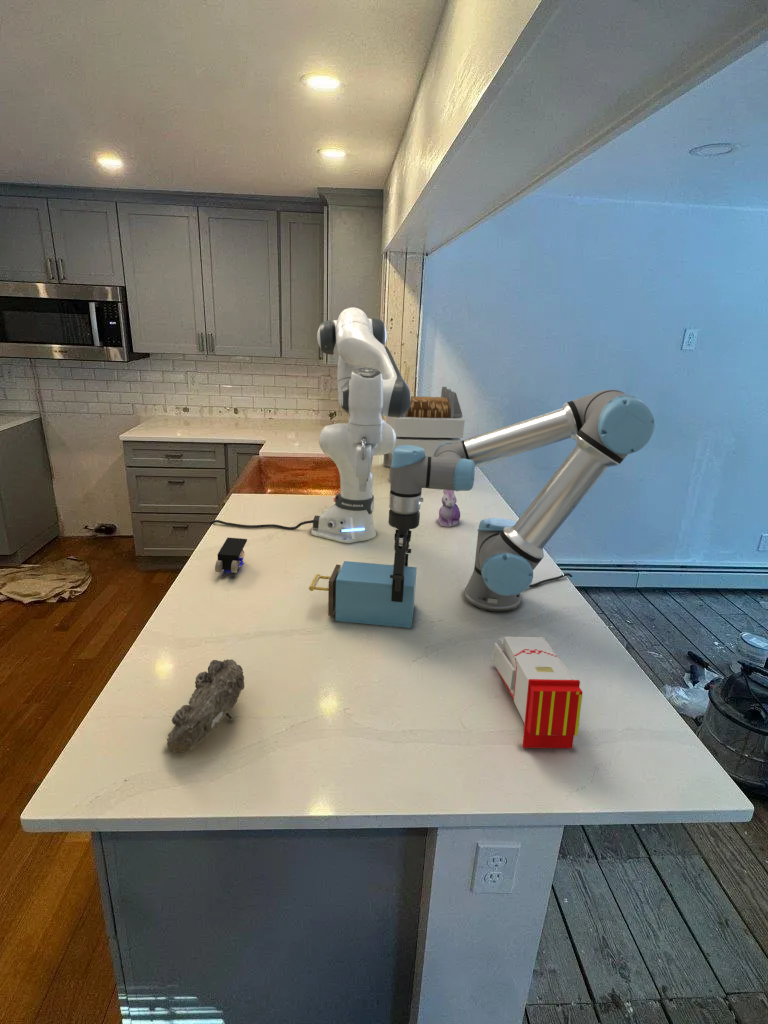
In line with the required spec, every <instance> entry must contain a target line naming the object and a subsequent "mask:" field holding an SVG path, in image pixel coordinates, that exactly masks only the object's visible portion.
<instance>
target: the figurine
mask: <svg viewBox="0 0 768 1024" xmlns="http://www.w3.org/2000/svg"><path fill="white" fill-rule="evenodd" d="M442 491H443V495H442V497H441V503H442V506H441V507H440V508H439V510H438V519H437V523H438V524H439V525H440V526H441V527H446V528H449V527H455V526H457V525H458V524H459V523H460V518H461V511H460V508H459V506H458V504H456V503H457V501H458V500H457V497H456V495H455V491H454V490H442Z"/></svg>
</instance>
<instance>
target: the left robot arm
mask: <svg viewBox="0 0 768 1024" xmlns="http://www.w3.org/2000/svg"><path fill="white" fill-rule="evenodd" d="M316 340H317V344H318V347H319V349H320V351H321V352H322V353H323V354H325V355H330V356H333V355H338V358H337V367H336V380H337V382H336V383H337V396H338V404H339V406H340V408H341V409H342V410H343V411H344V412H345V413H346V414H348V415H349V417H348V419H347V422H338V423H332V424H328V425H325V426H324V427H322V429H321V431H320V432H319V435H318V436H319V437H318V444H319V447H320V449H321V451H322V452H323V454H325V455H326V456H327V457H328V458H330V459H331V460H332V462H333V463H334V464H335V466H336V467H337V470H338V474H339V483H340V484H339V485H340V488H339V489H340V490H339V491H338V492H337V494H336V495H335V496H334V497H333V502H334V504H333V505H331V506H329V507H328V508H326V509H325V510H323V512H321V514H320V515H314V517H313V519H311V520H304V521H301V522H299V523H298V524H297V525H295V526H284V525H280V524H273V523H271V524H270V523H269V524H251V525H250V524H241V523H233V522H226V521H223V520H219V519H214V520H212V521H210V522H209V525H214V524H222V525H224V526H232V527H238V528H245V529H250V528H251V529H258V528H260V529H261V528H278V529H282V530H288V531H291V530H292V531H293V530H297V529H298V528H300V527H301V526H303V525H308V524H312V528H311V530H310V533H311V536H315V537H319V538H323V539H326V540H330V541H336V542H339V543H343V544H352V543H357V542H365V541H368V540H372V539H373V538H375V537H376V535H377V532H376V528H375V523H374V513H373V512H374V509H375V496H374V474H373V472H372V471H371V470H372V465H373V459H374V457H378V456H382V455H383V456H384V454H387V453H390V452H391V451H392V450H393V449H394V447H395V445H396V434H395V431H394V429H393V428H392V427H391V426H390V425H389V424H387V423H386V420H384V419H383V417H386V416H388V417H396V418H399V417H401V416H402V415H403V414H405V413H406V412H407V411H408V410H409V408H410V403H411V396H412V393H411V389H410V387H409V385H408V383H407V382H406V381H405V379H404V378H403V376H402V374H401V372H400V370H399V368H398V365H397V363H396V361H395V359H394V357H393V354H392V353H391V351H390V349H389V348H388V347H387V345H386V343H387V340H388V333H387V329H386V325H385V323H384V321H383V320H382V319H380V318H376V317H371V318H369V317H368V316H367V314H366V313H365V311H364V310H362V309H360V308H358V307H354V306H353V307H352V306H351V307H347V308H345V309H343V310H342V311H341V312H340V314H338V318H337V319H334V320H333V319H329V320H325V321H323V322H321V323H320V324H319V328H318V329H317V333H316Z"/></svg>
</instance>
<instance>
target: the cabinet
mask: <svg viewBox="0 0 768 1024" xmlns="http://www.w3.org/2000/svg"><path fill="white" fill-rule="evenodd" d="M393 568H394V564H385V563H374V562H373V563H372V562H362V561H361V562H360V561H349V560H343V562H342V564H341V569H340V572H339V574H338V576H337V579H336V609H335V622H343V623H352V624H364V625H373V626H384V627H394V628H405V629H412V624H413V619H414V618H413V617H414V611H415V610H414V609H415V598H416V582H417V571H418V570H417V568H418V567H417V566H409V565H408V566H405V568H404V589H403V602H394V601H391V599H392V582H393V579H392V578H390V575H393Z"/></svg>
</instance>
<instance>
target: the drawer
mask: <svg viewBox="0 0 768 1024" xmlns="http://www.w3.org/2000/svg"><path fill="white" fill-rule="evenodd" d="M341 567H342V564H335V566H334V568H333V571H332V572H331V574H330V575H329V576H328V575H321V574H320V573H316V574H315V576H314V577H313V579H312V582H311V583H310V585H309V587H308V590H309V592H313V591H324V592H327V593H328V597H327V600H328V603H327V606H328V607H327V608H328V609H327V616H328V617H333V616H334V614H335V613H336V579H337V576H338V574H339V572H340V569H341ZM320 579H322V580H328V587H323V586H317V584H318V582H319V580H320Z"/></svg>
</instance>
